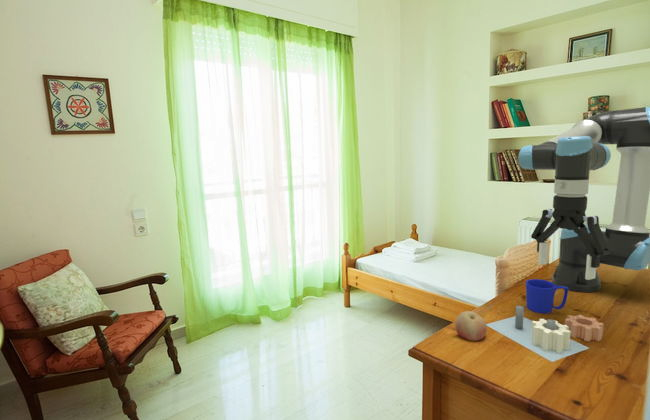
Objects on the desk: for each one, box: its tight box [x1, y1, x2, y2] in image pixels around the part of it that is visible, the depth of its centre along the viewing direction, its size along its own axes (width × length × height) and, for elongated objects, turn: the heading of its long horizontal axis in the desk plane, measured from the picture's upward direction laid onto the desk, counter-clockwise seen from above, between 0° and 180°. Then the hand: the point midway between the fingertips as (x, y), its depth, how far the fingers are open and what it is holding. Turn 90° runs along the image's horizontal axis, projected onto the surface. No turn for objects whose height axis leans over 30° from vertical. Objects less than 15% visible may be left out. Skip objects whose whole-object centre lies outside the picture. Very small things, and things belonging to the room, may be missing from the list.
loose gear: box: [564, 314, 605, 342], centre depth 99 cm, size 9×9×5 cm
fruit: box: [454, 310, 488, 342], centre depth 101 cm, size 8×8×8 cm
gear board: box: [486, 305, 590, 363], centre depth 99 cm, size 14×21×8 cm, turn 21°
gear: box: [531, 318, 571, 353], centre depth 94 cm, size 9×9×5 cm
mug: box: [525, 278, 569, 314], centre depth 114 cm, size 8×12×10 cm
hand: (564, 270), depth 98 cm, fingers open, 13 cm apart
